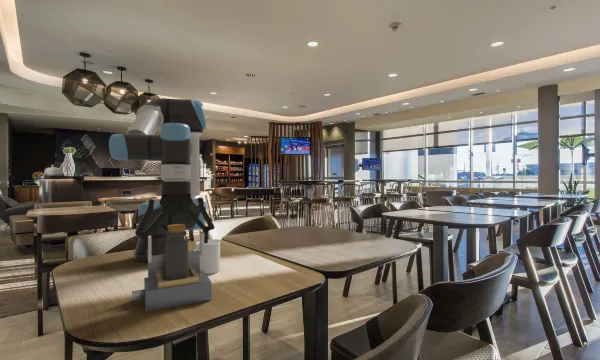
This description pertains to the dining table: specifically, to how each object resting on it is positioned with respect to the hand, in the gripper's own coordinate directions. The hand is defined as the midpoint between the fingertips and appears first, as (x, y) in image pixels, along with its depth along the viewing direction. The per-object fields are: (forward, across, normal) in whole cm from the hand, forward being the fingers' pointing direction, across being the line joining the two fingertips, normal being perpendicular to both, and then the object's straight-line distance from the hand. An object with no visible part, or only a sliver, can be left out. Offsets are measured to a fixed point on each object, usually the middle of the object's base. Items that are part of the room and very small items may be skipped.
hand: (176, 258), depth 88 cm
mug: (+11, +11, +20) cm, 25 cm away
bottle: (+6, 0, 0) cm, 6 cm away
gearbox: (+11, -1, 0) cm, 11 cm away
